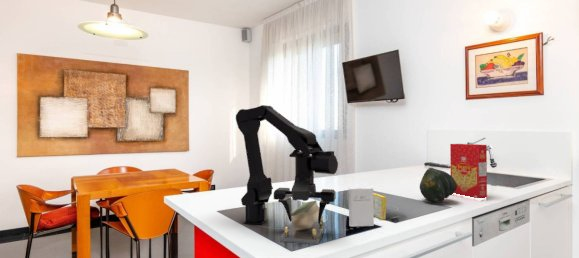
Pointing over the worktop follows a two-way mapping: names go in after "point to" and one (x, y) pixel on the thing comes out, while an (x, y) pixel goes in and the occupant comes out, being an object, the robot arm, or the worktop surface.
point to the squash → (437, 185)
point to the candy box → (379, 206)
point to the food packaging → (469, 169)
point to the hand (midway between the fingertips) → (304, 222)
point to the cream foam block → (305, 215)
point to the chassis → (304, 233)
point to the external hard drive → (361, 207)
